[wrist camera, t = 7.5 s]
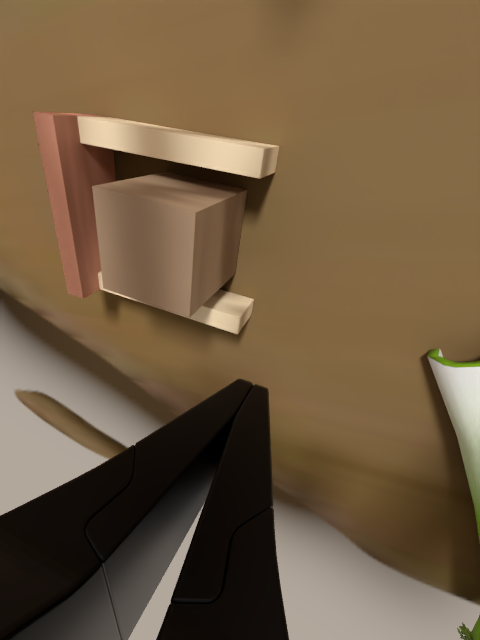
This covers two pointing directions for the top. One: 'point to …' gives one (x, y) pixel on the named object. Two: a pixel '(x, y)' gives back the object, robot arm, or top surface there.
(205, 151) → the channel
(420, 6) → the top surface
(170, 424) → the robot arm
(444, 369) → the leek
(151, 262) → the block
